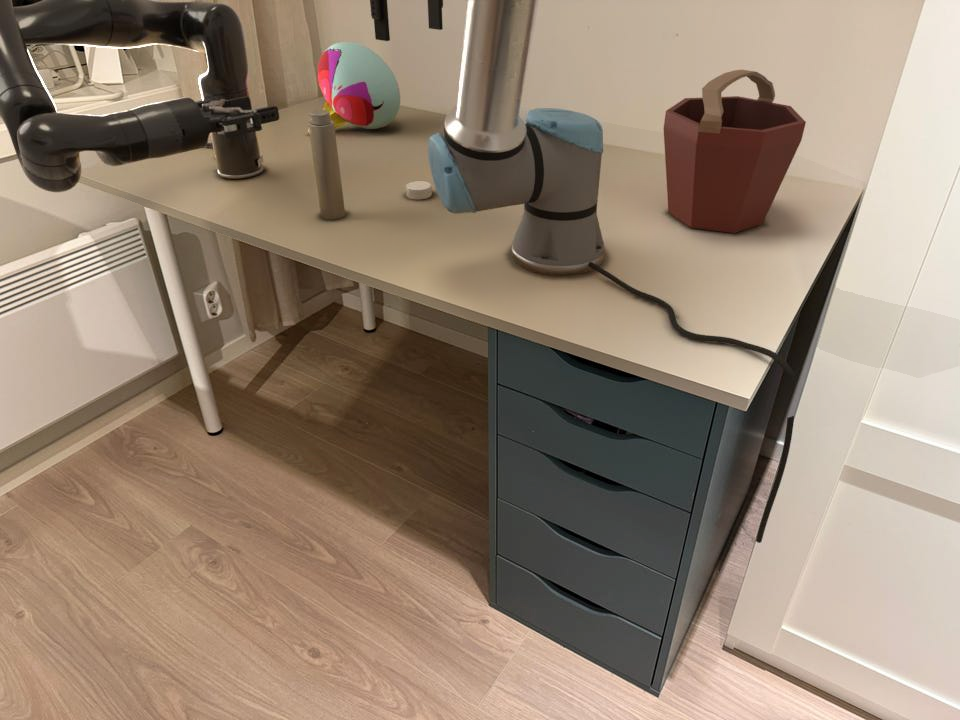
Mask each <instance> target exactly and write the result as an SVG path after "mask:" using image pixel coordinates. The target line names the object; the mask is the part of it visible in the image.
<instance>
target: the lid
mask: <svg viewBox="0 0 960 720" xmlns="http://www.w3.org/2000/svg"><path fill="white" fill-rule="evenodd" d="M432 193H433V191H432V184H431V183H430V182H427V181H422V180H417V181H410V182H408V183H407V184H406V185H405V195H406V197H407V198H408V199H410V200H417V201H418V200H419V201H420V200H421V201H422V200H425V199H426V200H427V199H430V197H431V196H432V195H433V194H432Z"/></svg>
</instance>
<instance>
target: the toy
mask: <svg viewBox="0 0 960 720" xmlns="http://www.w3.org/2000/svg"><path fill="white" fill-rule="evenodd" d="M317 81H318V85H319V88H320V91H321V93H322V95H323V97H324V99H325V102H324V108H323V109H322V110H327V111H329V112H330V116H331V117H330V120H332V121H334V127H335V129H336V128H339V127H342V126H345V125H347V124H351V125H353V126H356V127H358V128H361V129H366V130H378V129H382V128H384V127H386V126H388V125H390V124H391V123H392V122H393V121H394V120H395V118H396V117H397V115H398V113H399V111H400V107H401V91H400V86H399V84H398V80H397V78H396V76H395V74H394V72H393V71H392V69H391V67H390V66H389V65H388V64H387V62H386V61H385V60H384V59H383V58H382V57H381V56H380V55H379V54H378V53H376V52H375V51H374V50H372V49H370V48H369V47H367V46H365V45H362V44H360V43H357V42H353V41H352V42H351V41H341V42H337V43H336V42H335V43H334V44H332V45H330V46H329V47H327V48H326V49H325V50H324V51H323V52H322V54H321V56H320V58H319V61H318V64H317ZM307 132H308V133H309V129H307Z"/></svg>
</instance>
